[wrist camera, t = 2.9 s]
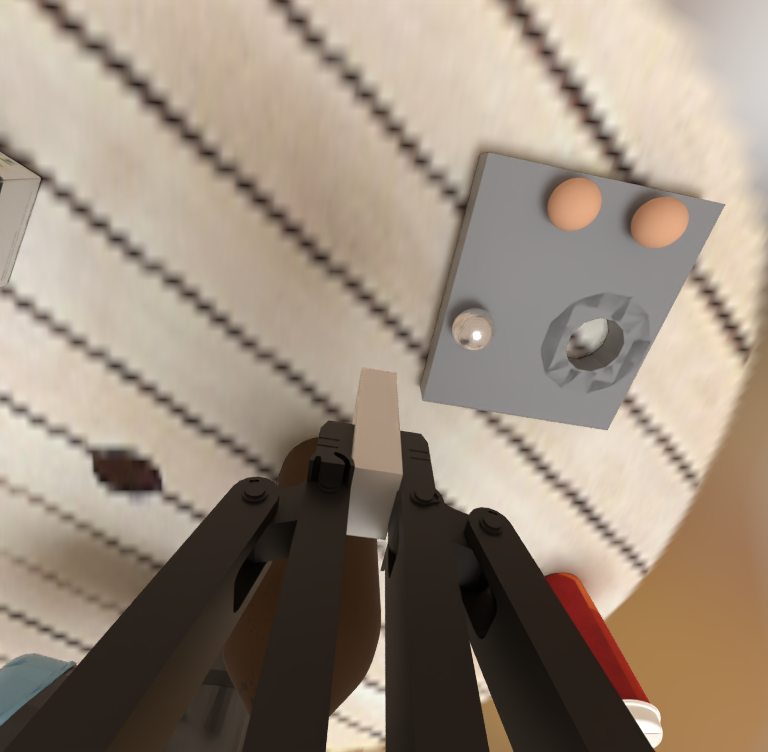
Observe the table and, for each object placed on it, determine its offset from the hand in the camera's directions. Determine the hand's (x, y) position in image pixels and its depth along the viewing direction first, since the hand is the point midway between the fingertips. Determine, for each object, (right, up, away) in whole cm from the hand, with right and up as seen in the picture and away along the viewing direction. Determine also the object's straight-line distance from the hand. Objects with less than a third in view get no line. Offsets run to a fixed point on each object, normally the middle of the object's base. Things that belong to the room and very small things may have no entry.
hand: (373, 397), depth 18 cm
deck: (+14, +7, +16) cm, 22 cm away
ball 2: (+13, +12, +8) cm, 20 cm away
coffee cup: (+22, -25, +32) cm, 46 cm away
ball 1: (+7, +4, +12) cm, 15 cm away
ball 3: (+19, +11, +9) cm, 24 cm away
